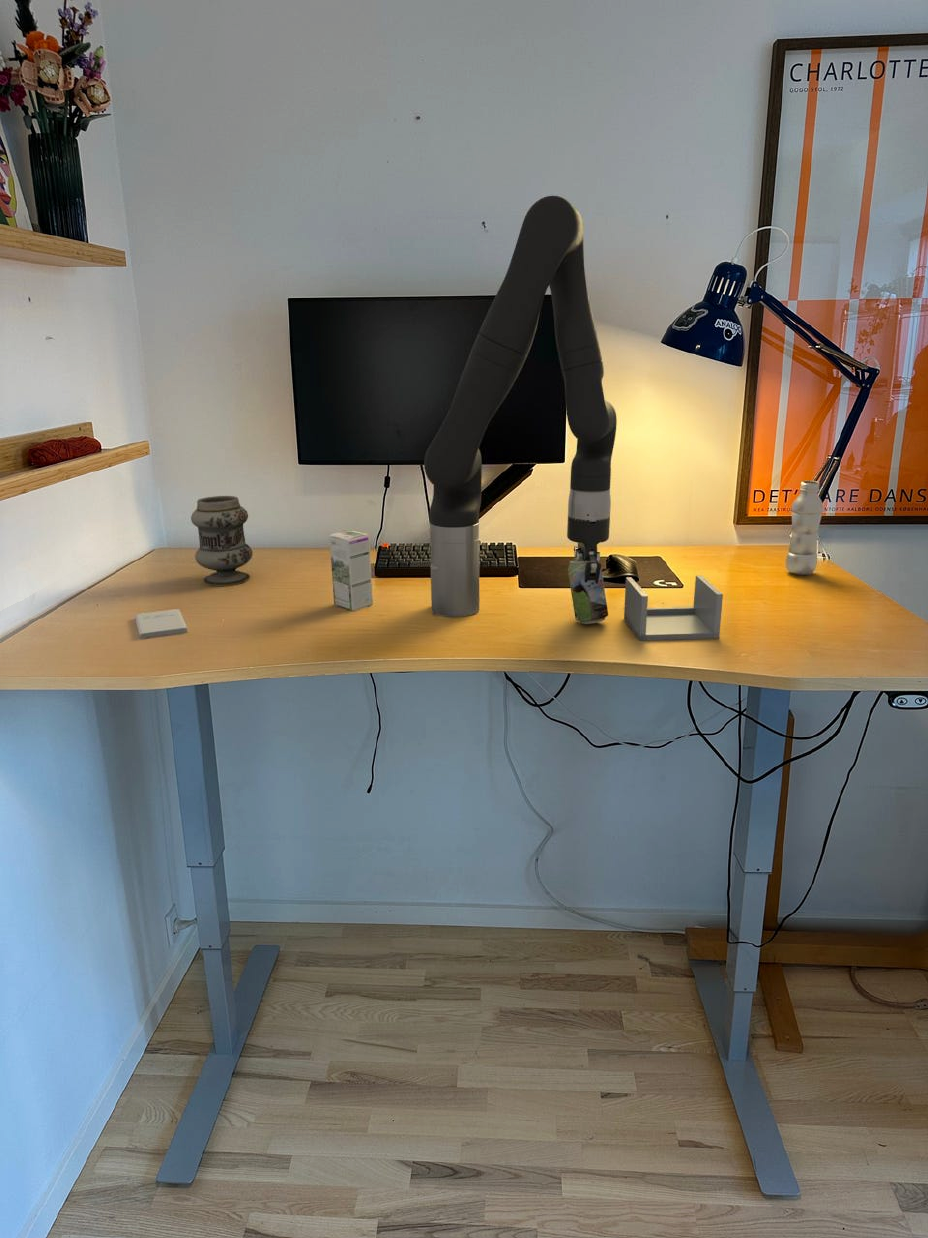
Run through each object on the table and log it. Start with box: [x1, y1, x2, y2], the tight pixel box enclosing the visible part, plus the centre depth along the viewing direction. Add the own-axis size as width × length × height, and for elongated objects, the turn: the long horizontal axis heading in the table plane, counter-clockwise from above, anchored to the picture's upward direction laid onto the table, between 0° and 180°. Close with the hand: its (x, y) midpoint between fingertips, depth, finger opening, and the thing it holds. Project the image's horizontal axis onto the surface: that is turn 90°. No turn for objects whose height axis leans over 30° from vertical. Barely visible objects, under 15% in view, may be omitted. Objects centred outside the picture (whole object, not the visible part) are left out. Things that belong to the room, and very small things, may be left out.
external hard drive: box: [134, 608, 189, 639], centre depth 162 cm, size 2×8×12 cm
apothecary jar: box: [190, 495, 253, 587], centre depth 188 cm, size 12×12×18 cm
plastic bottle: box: [785, 480, 824, 576], centre depth 187 cm, size 6×7×20 cm
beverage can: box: [567, 559, 609, 625], centre depth 159 cm, size 6×7×12 cm
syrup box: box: [328, 529, 374, 611], centre depth 170 cm, size 6×6×14 cm
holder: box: [623, 574, 724, 641], centre depth 156 cm, size 14×12×8 cm
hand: (584, 605), depth 162 cm, fingers closed on beverage can, 2 cm apart
